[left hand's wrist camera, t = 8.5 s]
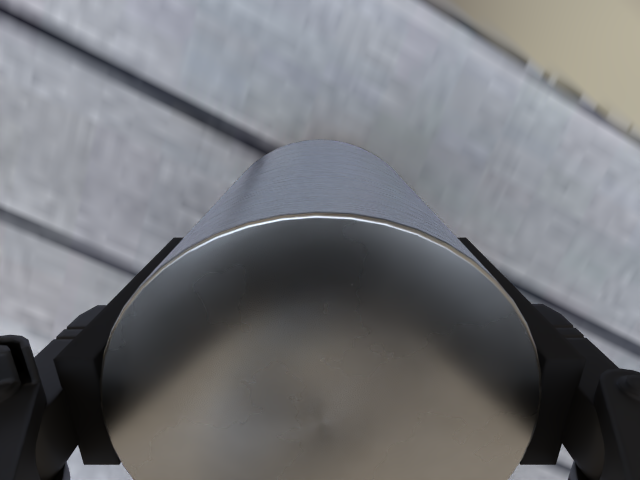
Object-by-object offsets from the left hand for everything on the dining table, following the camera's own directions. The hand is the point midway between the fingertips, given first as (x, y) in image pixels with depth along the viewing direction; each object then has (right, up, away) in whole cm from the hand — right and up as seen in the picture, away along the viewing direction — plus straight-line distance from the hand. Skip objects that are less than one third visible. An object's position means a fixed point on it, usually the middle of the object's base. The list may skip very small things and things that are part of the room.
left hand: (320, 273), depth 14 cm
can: (0, +1, +3) cm, 3 cm away
